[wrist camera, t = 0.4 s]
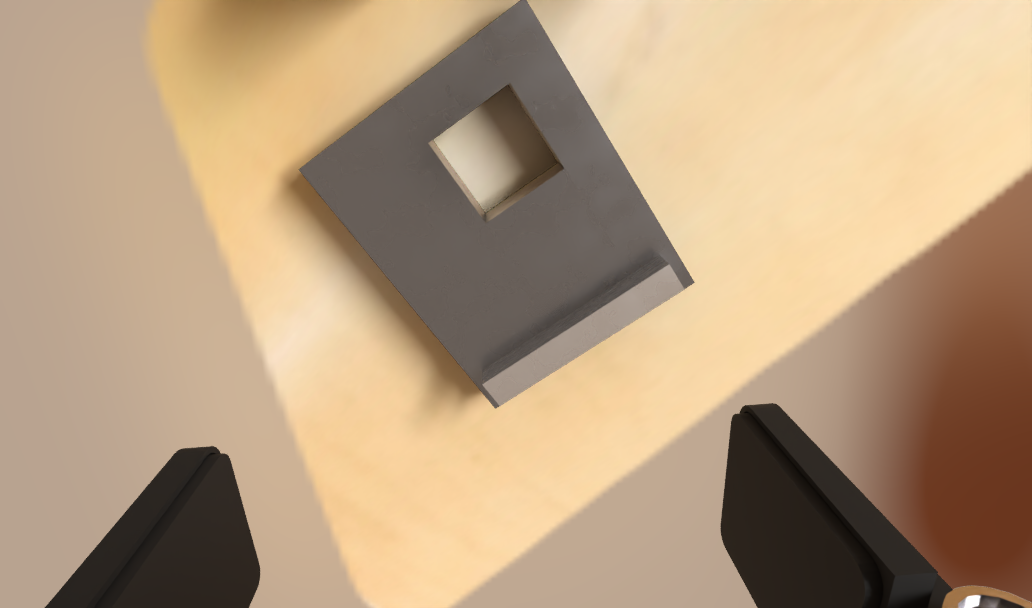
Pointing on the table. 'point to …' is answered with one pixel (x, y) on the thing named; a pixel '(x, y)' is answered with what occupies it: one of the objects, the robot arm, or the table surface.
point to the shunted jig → (502, 216)
